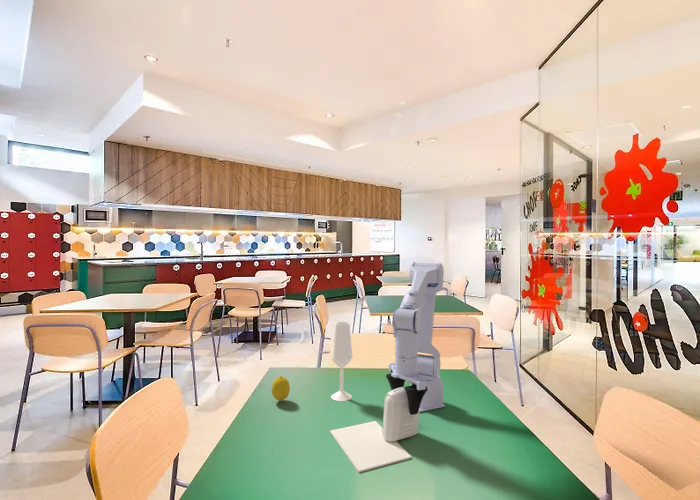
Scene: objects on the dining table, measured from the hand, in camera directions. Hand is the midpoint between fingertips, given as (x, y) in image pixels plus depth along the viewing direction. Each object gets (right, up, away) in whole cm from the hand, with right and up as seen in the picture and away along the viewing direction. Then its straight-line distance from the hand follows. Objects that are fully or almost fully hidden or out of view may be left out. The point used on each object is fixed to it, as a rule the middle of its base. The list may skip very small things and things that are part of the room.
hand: (405, 407), depth 93 cm
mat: (-10, -7, -4) cm, 13 cm away
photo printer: (-1, -7, 0) cm, 8 cm away
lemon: (-36, -7, +19) cm, 42 cm away
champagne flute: (-17, -7, +23) cm, 30 cm away
